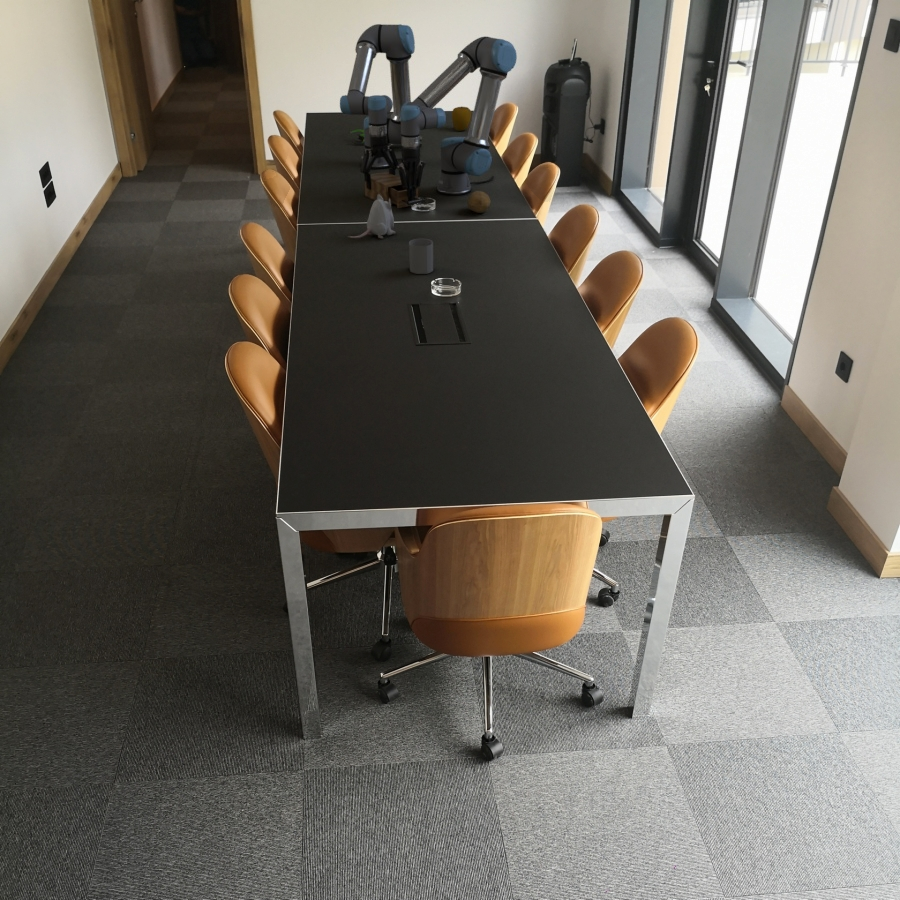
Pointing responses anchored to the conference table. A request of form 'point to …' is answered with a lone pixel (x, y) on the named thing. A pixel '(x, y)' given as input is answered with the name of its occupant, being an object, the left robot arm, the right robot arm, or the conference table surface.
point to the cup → (421, 256)
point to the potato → (478, 201)
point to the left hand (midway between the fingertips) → (380, 186)
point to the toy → (379, 219)
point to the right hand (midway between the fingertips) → (411, 204)
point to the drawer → (401, 196)
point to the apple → (461, 118)
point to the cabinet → (381, 185)
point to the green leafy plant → (361, 137)
